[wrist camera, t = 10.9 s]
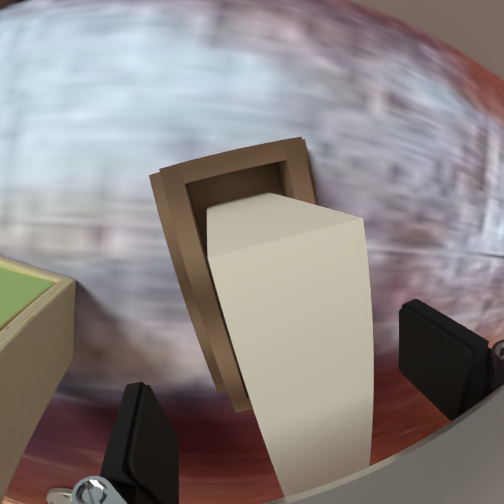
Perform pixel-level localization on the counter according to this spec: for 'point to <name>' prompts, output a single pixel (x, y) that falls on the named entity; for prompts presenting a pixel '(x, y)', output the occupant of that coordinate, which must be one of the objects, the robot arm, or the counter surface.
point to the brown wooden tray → (195, 233)
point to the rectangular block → (299, 330)
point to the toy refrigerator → (30, 352)
